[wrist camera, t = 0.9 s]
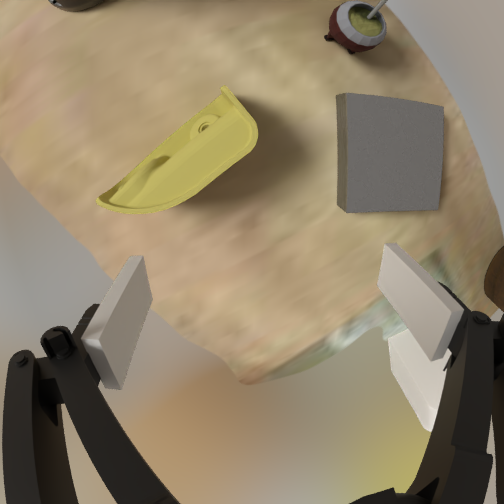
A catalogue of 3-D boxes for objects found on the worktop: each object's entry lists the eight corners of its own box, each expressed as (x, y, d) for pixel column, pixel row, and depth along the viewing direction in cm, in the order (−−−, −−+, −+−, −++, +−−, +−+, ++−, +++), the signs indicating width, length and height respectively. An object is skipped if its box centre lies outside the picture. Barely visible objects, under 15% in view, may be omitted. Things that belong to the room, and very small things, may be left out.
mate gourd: (331, 60, 33) (379, 35, 20) (310, 13, 30) (346, -31, 16) (375, 52, 32) (435, 31, 19) (355, 6, 29) (405, -31, 16)
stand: (336, 95, 35) (346, 92, 32) (428, 106, 36) (443, 106, 32) (337, 204, 42) (346, 213, 38) (424, 202, 42) (437, 209, 39)
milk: (432, 350, 58) (484, 430, 34) (391, 371, 59) (435, 460, 36) (433, 315, 53) (499, 402, 29) (387, 338, 54) (443, 438, 31)
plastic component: (226, 92, 35) (223, 82, 26) (260, 134, 37) (268, 138, 28) (118, 185, 39) (88, 204, 30) (150, 222, 42) (130, 251, 33)
